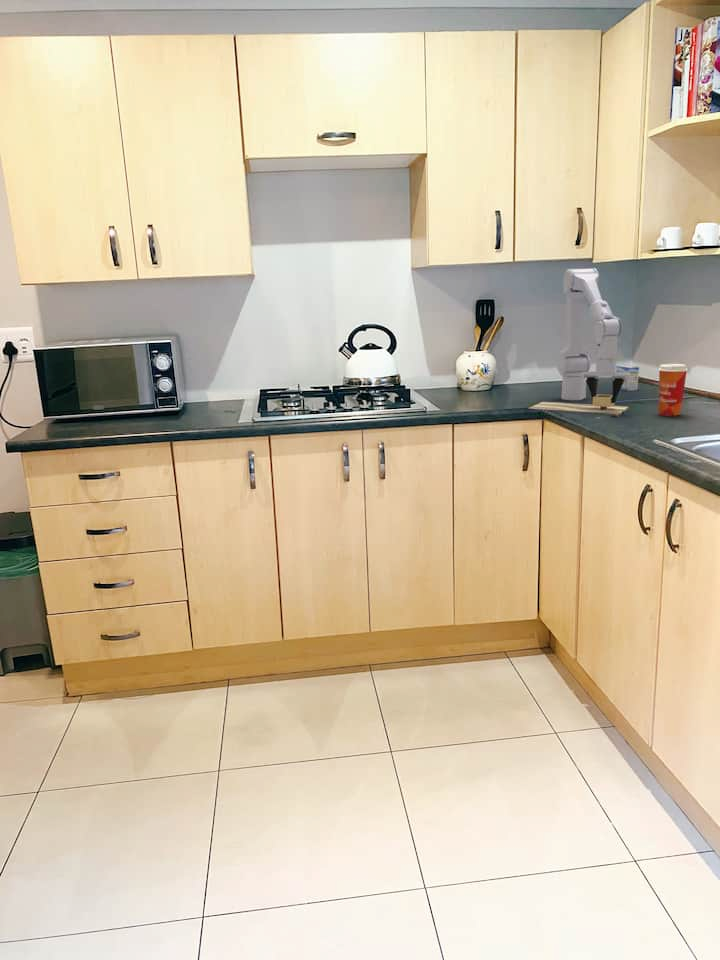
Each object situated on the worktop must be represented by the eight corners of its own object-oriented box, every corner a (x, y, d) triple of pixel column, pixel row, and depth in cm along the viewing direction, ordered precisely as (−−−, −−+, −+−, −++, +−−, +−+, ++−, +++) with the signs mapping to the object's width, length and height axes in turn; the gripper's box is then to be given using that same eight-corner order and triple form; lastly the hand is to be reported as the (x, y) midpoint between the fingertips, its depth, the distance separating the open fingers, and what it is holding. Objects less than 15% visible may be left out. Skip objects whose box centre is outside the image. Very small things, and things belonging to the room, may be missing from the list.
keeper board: (542, 404, 244) (543, 391, 243) (628, 409, 229) (629, 395, 228) (528, 411, 233) (528, 397, 232) (617, 417, 218) (618, 402, 217)
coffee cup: (648, 413, 222) (652, 364, 218) (670, 411, 224) (673, 362, 220) (669, 418, 214) (673, 367, 210) (690, 415, 217) (695, 365, 213)
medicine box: (614, 388, 274) (615, 365, 271) (624, 387, 275) (625, 364, 273) (627, 391, 266) (629, 367, 264) (637, 390, 268) (639, 366, 265)
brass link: (597, 403, 230) (597, 394, 229) (614, 404, 227) (615, 395, 226) (592, 405, 225) (592, 396, 225) (610, 406, 222) (610, 397, 222)
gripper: (579, 359, 223) (577, 402, 227) (627, 360, 215) (624, 405, 219) (585, 356, 229) (583, 399, 232) (633, 358, 221) (630, 401, 225)
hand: (603, 402), depth 226 cm, fingers closed on brass link, 5 cm apart
